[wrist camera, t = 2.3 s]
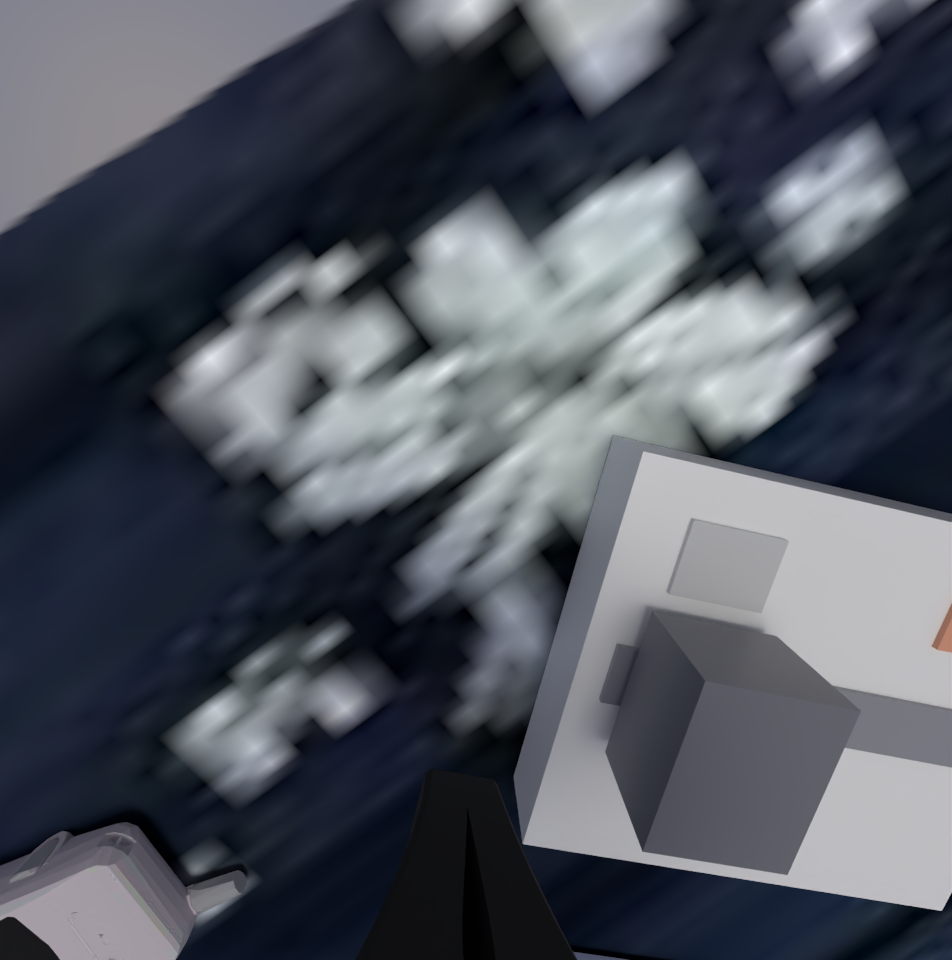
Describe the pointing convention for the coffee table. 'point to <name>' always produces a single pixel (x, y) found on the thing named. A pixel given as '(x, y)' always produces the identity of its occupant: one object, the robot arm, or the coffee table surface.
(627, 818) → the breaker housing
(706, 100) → the coffee table surface
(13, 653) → the coffee table surface
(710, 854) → the switch lever
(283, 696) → the coffee table surface
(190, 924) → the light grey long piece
